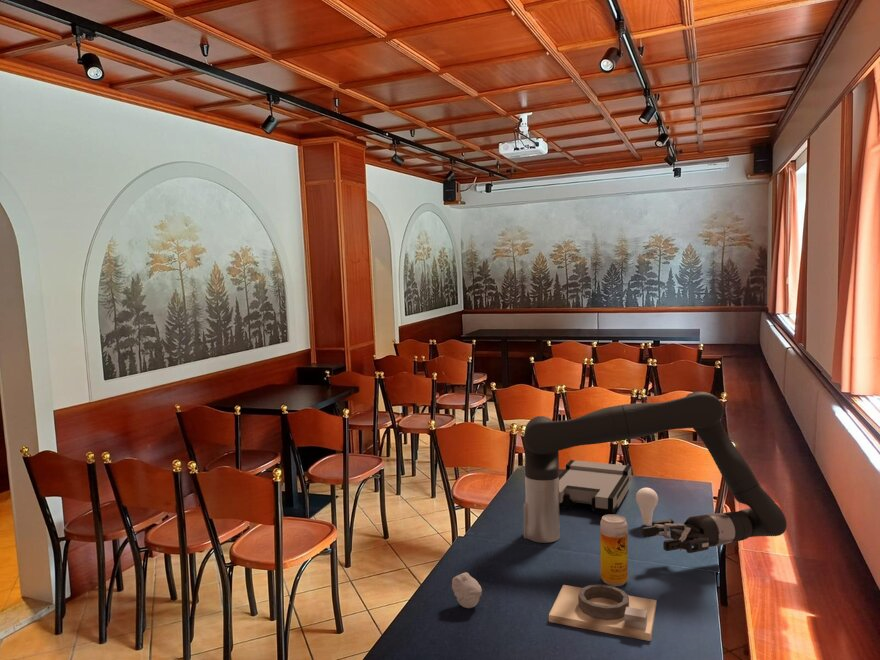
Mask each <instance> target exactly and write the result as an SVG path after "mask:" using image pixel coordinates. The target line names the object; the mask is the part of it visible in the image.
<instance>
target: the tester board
mask: <svg viewBox="0 0 880 660" xmlns="http://www.w3.org/2000/svg"><path fill="white" fill-rule="evenodd" d="M656 610H657V599H651V598H645V597H640V596H634V595H629V594H627V593H626V591H624V590H623V589H620V588H618V587H617V586H611V585H608V584H599V583H598V584H589V585H586V586H584V587H579V586H574V585H573V586H572V585H566V584H563V585H562V587H561V589H560V591H559V593H558V595H557V597H556V599H555V601H554V603H553V606H552V607H551V609H550V611H549V614H548V622H549V623H553V624H554V623H555V624H558V625H564V626H569V627H573V628H580V629H584V630H589V631H596V632H600V633H606V634H612V635H616V636H621V637H626V638H631V639H637V640H643V641H648V642H651V641H652V635H653V630H654V624H655V618H656Z"/></svg>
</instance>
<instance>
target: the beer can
mask: <svg viewBox="0 0 880 660" xmlns="http://www.w3.org/2000/svg"><path fill="white" fill-rule="evenodd" d="M599 527H600V530H599V531H600V533H599V534H600V536H599V537H600V539H599V540H600V541H599V542H600V578H601V579H602V582H603V583H605V585H609V586H614V587H621V586H622V587H623V586H624V585H625V584H626V582H627V581H628V580H629V577H628V575H629V574H628V573H629V572H628V571H629V570H628V569H629V568H628V567H629V565H628V563H629V561H628V559H629V557H628V556H629V555H628V554H629V553H628V551H629V550H628V539H629V538H628V523H627V521H626V518H625V516H622V515H619V514H614V515H613V514H603V516H602V517H601V520H600V523H599Z"/></svg>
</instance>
